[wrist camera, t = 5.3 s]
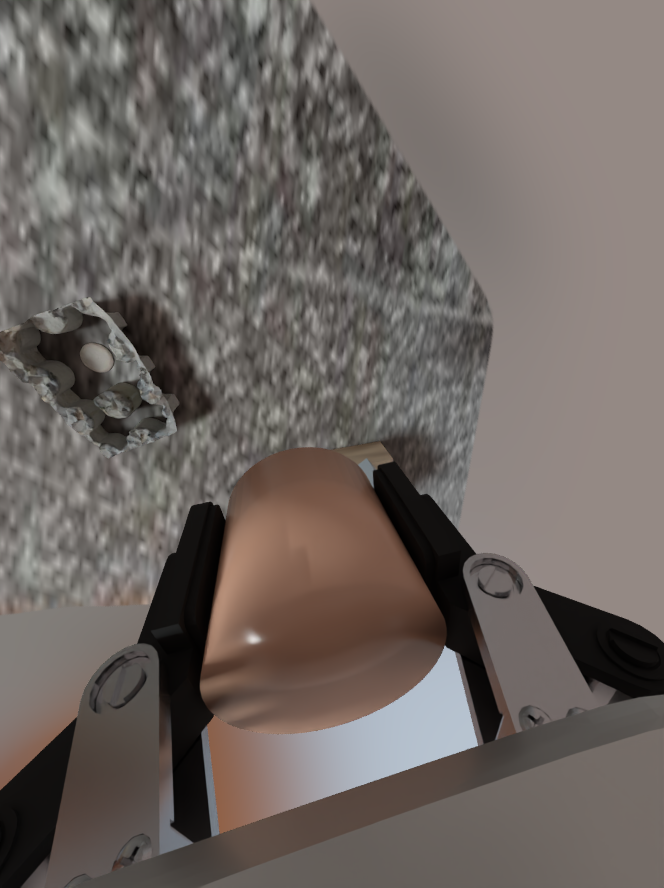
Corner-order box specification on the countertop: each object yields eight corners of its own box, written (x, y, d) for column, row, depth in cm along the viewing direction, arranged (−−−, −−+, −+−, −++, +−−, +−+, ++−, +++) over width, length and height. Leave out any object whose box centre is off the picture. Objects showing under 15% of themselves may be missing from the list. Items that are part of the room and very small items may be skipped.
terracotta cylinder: (207, 465, 9) (155, 630, 5) (368, 433, 10) (454, 553, 5) (248, 577, 12) (240, 756, 7) (376, 546, 12) (441, 693, 8)
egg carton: (18, 325, 22) (-30, 332, 18) (118, 290, 22) (90, 291, 19) (112, 447, 27) (88, 471, 24) (192, 418, 27) (181, 437, 24)
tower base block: (313, 451, 31) (319, 472, 28) (379, 440, 32) (392, 458, 29) (320, 505, 35) (327, 529, 31) (380, 493, 36) (392, 516, 32)
